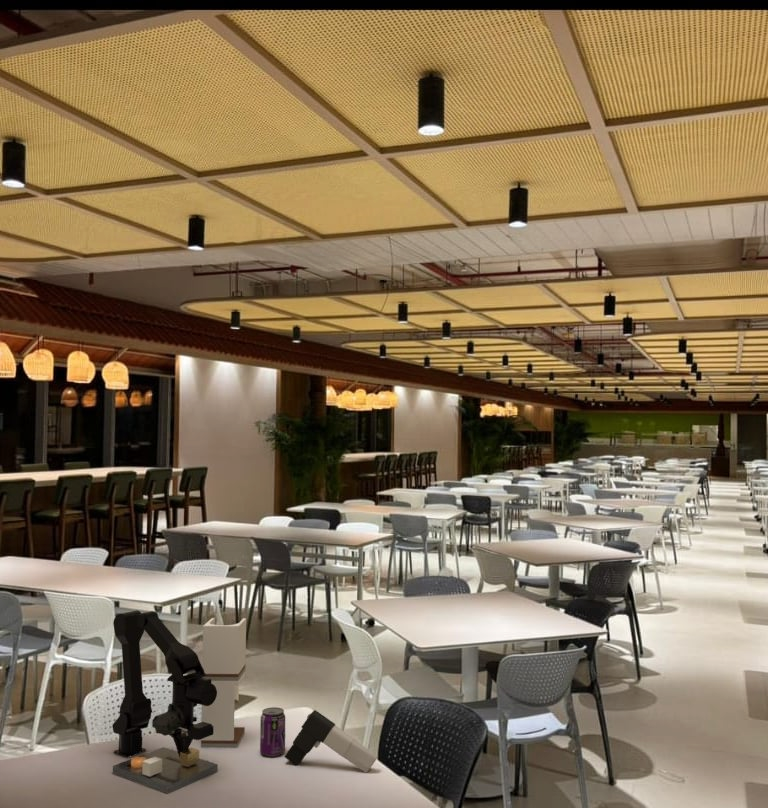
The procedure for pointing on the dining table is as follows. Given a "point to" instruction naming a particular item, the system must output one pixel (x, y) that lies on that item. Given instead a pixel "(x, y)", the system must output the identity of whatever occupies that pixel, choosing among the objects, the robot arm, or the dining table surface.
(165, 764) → the plate
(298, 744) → the handheld device
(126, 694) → the robot arm
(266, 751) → the beverage can
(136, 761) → the orange push button
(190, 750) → the tan block
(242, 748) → the dining table surface
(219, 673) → the beige tower stand
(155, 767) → the beige block
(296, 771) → the dining table surface
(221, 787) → the dining table surface
